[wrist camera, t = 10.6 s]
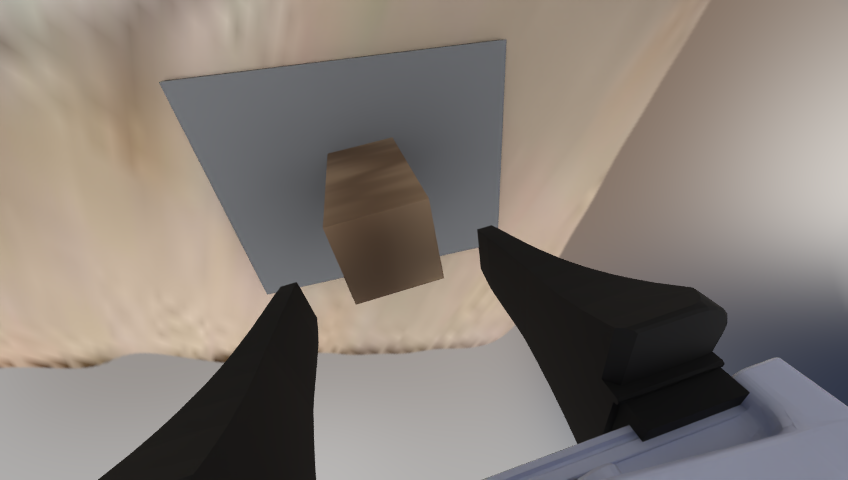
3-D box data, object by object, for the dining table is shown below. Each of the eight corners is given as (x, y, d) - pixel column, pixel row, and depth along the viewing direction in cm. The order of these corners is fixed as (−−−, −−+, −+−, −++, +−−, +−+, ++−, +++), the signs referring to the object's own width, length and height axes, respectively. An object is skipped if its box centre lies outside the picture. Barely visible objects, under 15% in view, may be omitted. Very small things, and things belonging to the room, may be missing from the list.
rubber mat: (501, 39, 18) (506, 39, 18) (494, 239, 26) (497, 243, 25) (164, 80, 16) (158, 82, 15) (268, 289, 23) (267, 294, 23)
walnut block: (392, 137, 19) (429, 198, 12) (406, 195, 21) (443, 278, 14) (327, 153, 19) (322, 227, 11) (348, 211, 21) (356, 304, 13)
